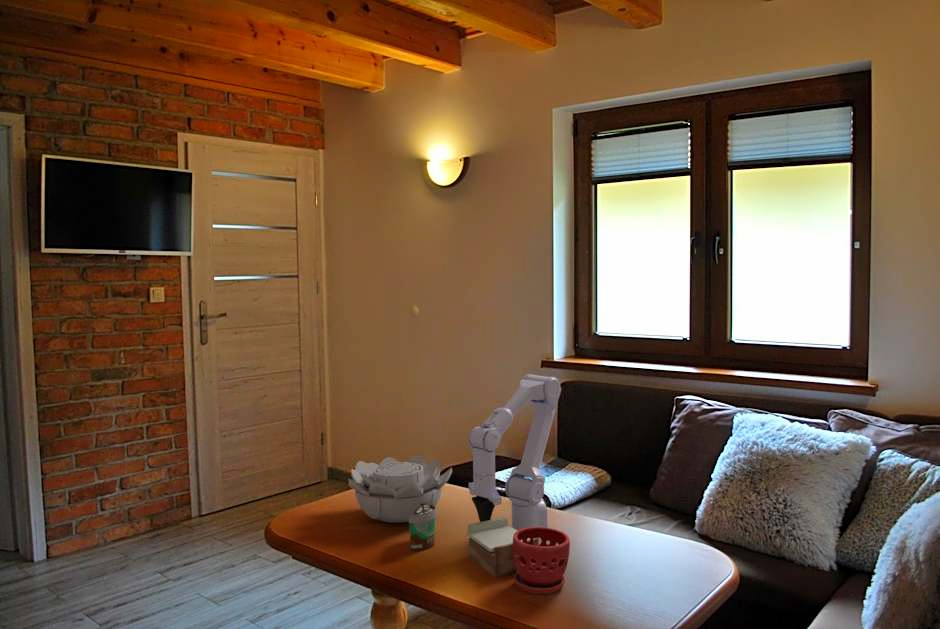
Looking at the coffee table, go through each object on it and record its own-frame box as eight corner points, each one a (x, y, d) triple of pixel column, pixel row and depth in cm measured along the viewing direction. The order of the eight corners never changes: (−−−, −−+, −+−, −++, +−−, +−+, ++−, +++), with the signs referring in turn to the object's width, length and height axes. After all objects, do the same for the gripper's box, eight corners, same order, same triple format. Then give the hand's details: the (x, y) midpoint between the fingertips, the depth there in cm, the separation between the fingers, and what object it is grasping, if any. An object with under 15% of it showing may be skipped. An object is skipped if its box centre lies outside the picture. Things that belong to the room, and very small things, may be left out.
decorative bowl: (393, 495, 241) (392, 449, 240) (467, 512, 223) (466, 463, 222) (323, 522, 216) (322, 472, 215) (401, 544, 199) (399, 489, 198)
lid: (506, 526, 196) (506, 516, 195) (532, 542, 184) (532, 532, 184) (466, 535, 190) (466, 524, 190) (490, 552, 179) (490, 540, 179)
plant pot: (529, 603, 163) (529, 550, 163) (503, 580, 176) (503, 530, 175) (580, 591, 169) (580, 540, 168) (551, 570, 181) (551, 522, 180)
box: (509, 548, 195) (509, 521, 194) (538, 567, 182) (538, 538, 182) (469, 557, 189) (468, 529, 189) (496, 577, 177) (495, 548, 176)
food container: (432, 554, 191) (431, 516, 191) (409, 553, 193) (408, 515, 192) (443, 537, 203) (442, 501, 203) (421, 535, 205) (421, 500, 204)
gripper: (458, 468, 197) (458, 518, 198) (483, 482, 184) (484, 535, 185) (481, 464, 200) (482, 514, 201) (508, 478, 188) (509, 530, 189)
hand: (484, 524), depth 194 cm, fingers closed
